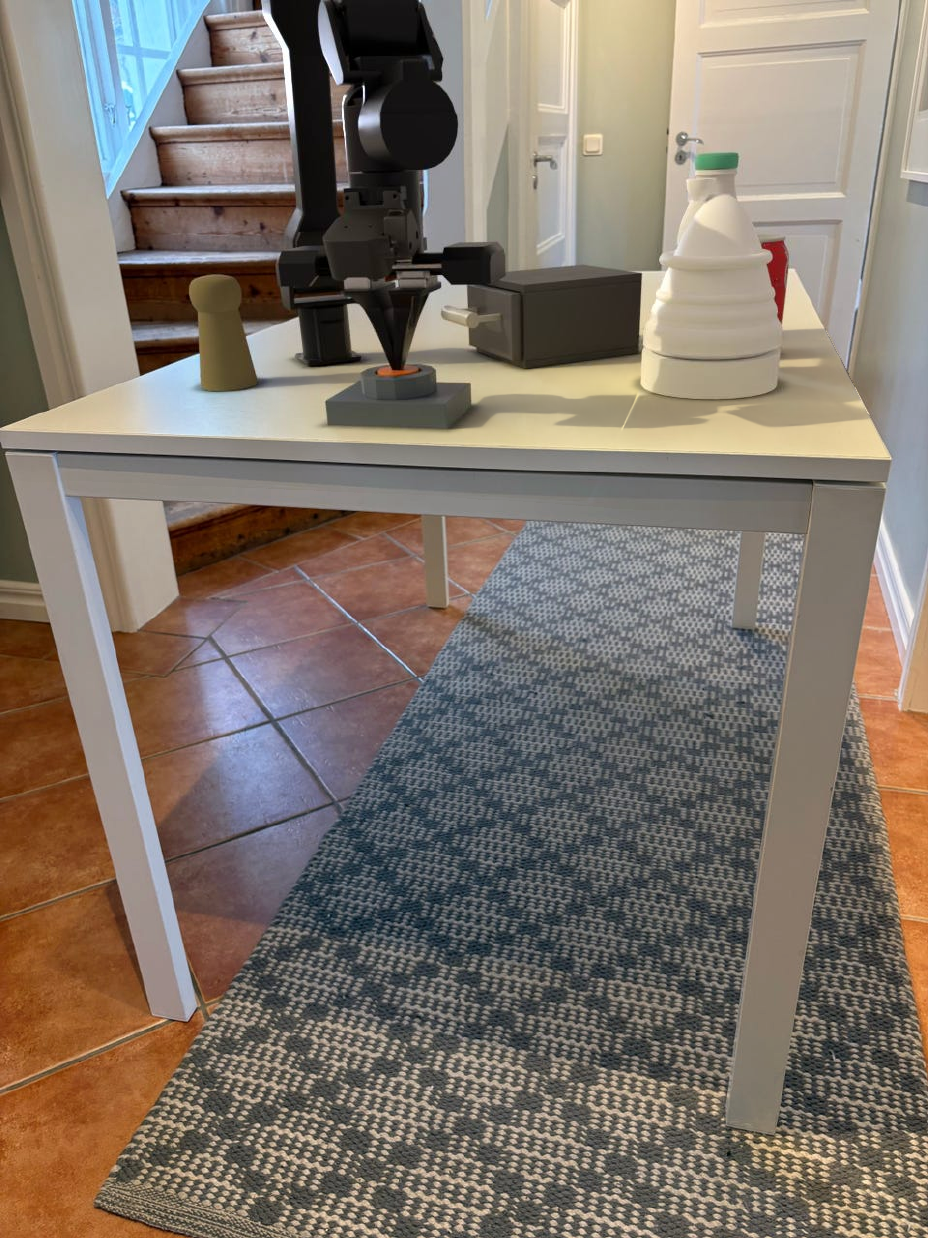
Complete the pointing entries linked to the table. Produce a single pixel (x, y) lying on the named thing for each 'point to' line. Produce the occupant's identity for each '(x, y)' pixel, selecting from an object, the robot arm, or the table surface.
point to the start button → (398, 371)
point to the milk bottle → (714, 168)
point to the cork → (221, 334)
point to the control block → (399, 401)
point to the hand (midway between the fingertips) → (397, 369)
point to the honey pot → (713, 308)
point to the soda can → (777, 268)
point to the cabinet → (575, 313)
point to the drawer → (491, 320)
